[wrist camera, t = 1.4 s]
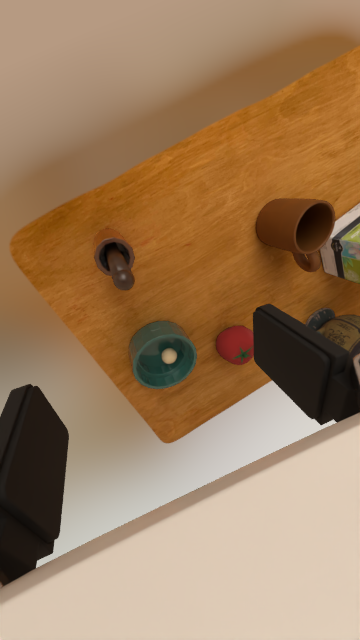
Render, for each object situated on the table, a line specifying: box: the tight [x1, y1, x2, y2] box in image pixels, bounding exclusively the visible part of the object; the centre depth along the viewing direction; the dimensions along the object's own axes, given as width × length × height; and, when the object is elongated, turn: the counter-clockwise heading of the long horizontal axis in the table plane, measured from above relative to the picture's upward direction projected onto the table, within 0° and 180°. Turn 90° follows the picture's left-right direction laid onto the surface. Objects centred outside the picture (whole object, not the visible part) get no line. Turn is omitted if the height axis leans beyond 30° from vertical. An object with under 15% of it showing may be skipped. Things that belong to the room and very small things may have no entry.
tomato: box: [216, 326, 254, 365], centre depth 48 cm, size 8×8×7 cm
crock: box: [93, 228, 135, 276], centre depth 31 cm, size 4×4×9 cm
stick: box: [104, 242, 135, 290], centre depth 27 cm, size 2×2×18 cm
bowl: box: [129, 321, 197, 389], centre depth 44 cm, size 12×12×6 cm
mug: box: [256, 199, 335, 272], centre depth 39 cm, size 12×8×9 cm, turn 29°
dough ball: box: [161, 348, 177, 364], centre depth 45 cm, size 3×3×3 cm
